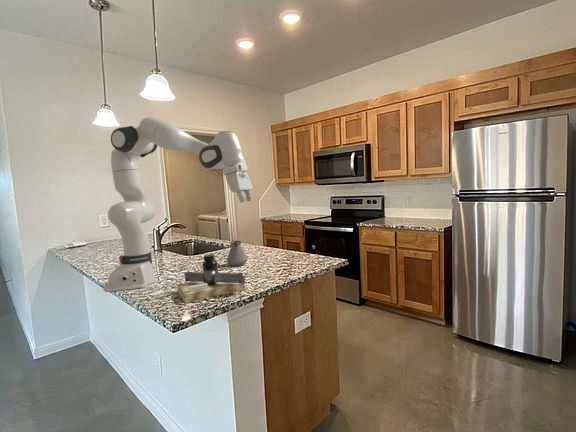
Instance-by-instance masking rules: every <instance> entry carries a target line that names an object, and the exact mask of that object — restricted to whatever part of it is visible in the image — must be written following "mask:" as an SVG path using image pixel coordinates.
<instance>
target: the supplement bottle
mask: <svg viewBox="0 0 576 432" xmlns="http://www.w3.org/2000/svg"><path fill="white" fill-rule="evenodd" d="M201 266H202V272H204V271H206V270H215V271H216V273H219V268H218V261H217V260H216V259H215V254H206V255H204V256H203V262H202V264H201Z"/></svg>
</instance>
